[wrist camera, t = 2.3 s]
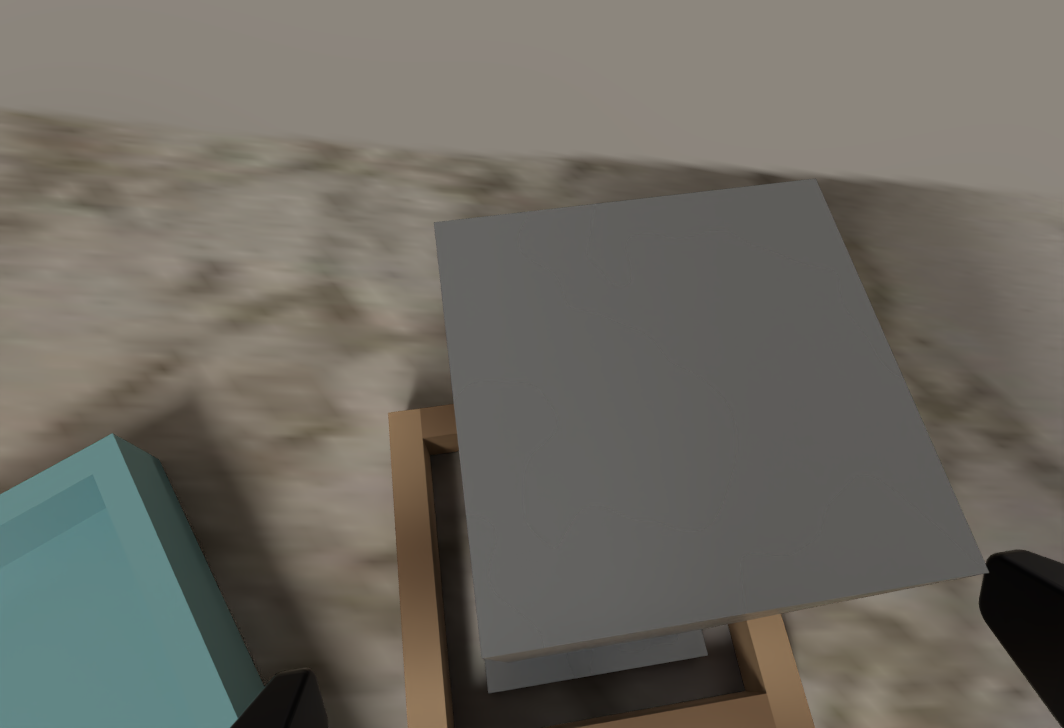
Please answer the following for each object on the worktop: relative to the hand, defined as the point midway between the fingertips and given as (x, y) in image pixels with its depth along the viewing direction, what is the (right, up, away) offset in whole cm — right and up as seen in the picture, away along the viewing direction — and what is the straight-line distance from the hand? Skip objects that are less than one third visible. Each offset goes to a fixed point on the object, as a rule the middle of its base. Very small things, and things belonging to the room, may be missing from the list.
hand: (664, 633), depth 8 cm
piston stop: (0, -2, +10) cm, 10 cm away
